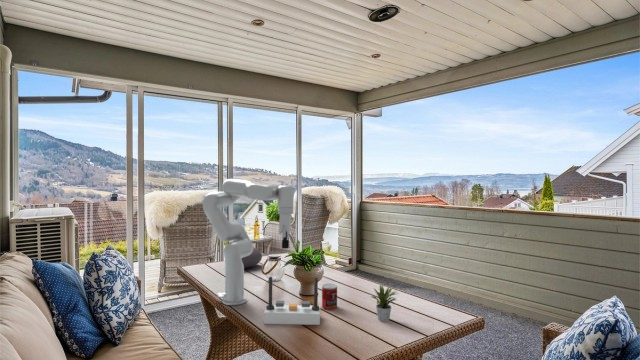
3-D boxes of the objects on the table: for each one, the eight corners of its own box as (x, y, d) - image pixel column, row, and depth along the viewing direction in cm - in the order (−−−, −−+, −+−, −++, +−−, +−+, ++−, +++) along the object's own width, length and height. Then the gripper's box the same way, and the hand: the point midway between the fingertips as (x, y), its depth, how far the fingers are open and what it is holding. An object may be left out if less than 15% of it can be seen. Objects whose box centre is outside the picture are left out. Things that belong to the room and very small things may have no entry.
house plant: (392, 329, 160) (392, 292, 159) (363, 322, 167) (363, 286, 167) (403, 318, 172) (403, 284, 172) (375, 312, 179) (376, 279, 179)
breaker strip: (264, 323, 164) (264, 312, 164) (267, 315, 174) (267, 304, 174) (319, 324, 164) (319, 313, 164) (320, 316, 174) (320, 305, 174)
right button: (301, 307, 167) (301, 303, 167) (302, 304, 171) (302, 301, 171) (309, 307, 167) (309, 303, 167) (310, 304, 171) (310, 301, 171)
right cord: (311, 310, 167) (311, 278, 167) (311, 308, 171) (312, 276, 171) (319, 310, 167) (319, 278, 167) (319, 308, 171) (320, 276, 170)
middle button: (288, 309, 167) (288, 306, 167) (289, 307, 171) (289, 303, 171) (296, 310, 167) (296, 306, 167) (297, 307, 171) (297, 303, 171)
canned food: (326, 311, 181) (326, 288, 180) (319, 305, 188) (319, 284, 187) (339, 308, 184) (340, 286, 184) (332, 303, 191) (332, 282, 191)
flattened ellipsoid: (259, 271, 253) (259, 250, 253) (223, 271, 252) (223, 249, 252) (264, 263, 278) (264, 243, 277) (231, 262, 277) (231, 243, 277)
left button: (275, 306, 167) (275, 303, 167) (276, 303, 171) (276, 300, 171) (283, 306, 167) (283, 303, 167) (284, 304, 171) (284, 300, 171)
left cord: (265, 310, 168) (266, 277, 167) (267, 307, 171) (267, 275, 171) (273, 310, 167) (273, 277, 167) (274, 307, 171) (275, 275, 171)
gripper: (280, 209, 187) (279, 245, 187) (275, 212, 172) (275, 251, 172) (294, 209, 187) (294, 245, 187) (291, 212, 172) (291, 251, 172)
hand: (285, 247), depth 180 cm, fingers closed
